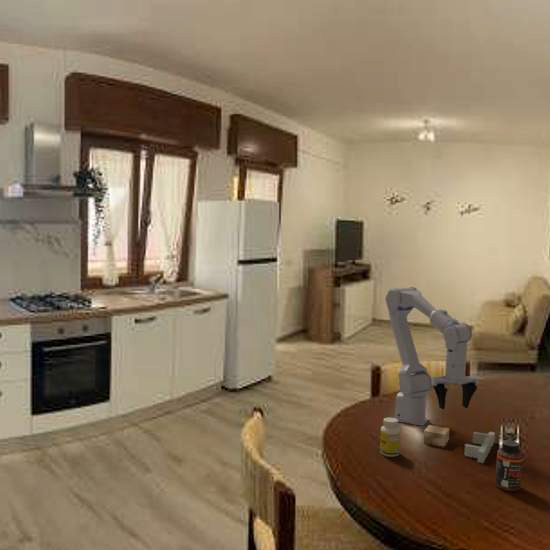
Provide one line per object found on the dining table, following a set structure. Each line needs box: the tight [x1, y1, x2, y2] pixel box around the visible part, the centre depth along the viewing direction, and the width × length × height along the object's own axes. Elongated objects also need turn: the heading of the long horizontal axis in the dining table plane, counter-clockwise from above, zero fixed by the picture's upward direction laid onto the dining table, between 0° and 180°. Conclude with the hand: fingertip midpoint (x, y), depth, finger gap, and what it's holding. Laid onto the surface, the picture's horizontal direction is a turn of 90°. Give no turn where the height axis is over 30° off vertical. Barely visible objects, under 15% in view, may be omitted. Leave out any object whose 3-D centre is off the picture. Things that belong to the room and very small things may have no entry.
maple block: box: [423, 424, 450, 448], centre depth 177 cm, size 6×6×4 cm
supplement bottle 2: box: [494, 439, 524, 492], centre depth 147 cm, size 6×6×11 cm
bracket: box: [464, 431, 496, 464], centre depth 171 cm, size 6×18×3 cm, turn 151°
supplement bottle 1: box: [379, 417, 401, 458], centre depth 167 cm, size 5×5×10 cm
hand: (453, 407), depth 181 cm, fingers open, 7 cm apart
